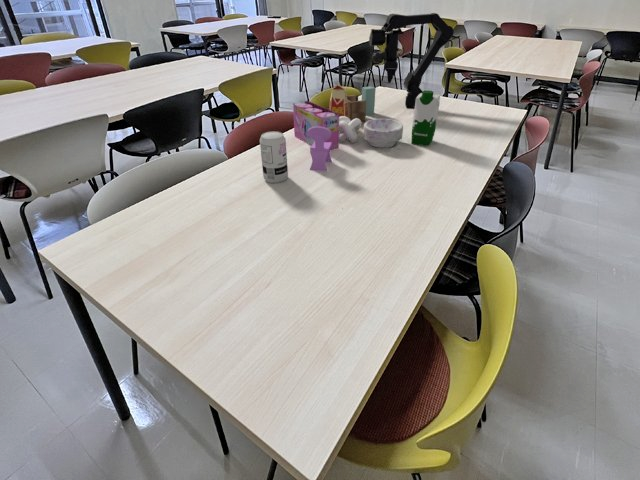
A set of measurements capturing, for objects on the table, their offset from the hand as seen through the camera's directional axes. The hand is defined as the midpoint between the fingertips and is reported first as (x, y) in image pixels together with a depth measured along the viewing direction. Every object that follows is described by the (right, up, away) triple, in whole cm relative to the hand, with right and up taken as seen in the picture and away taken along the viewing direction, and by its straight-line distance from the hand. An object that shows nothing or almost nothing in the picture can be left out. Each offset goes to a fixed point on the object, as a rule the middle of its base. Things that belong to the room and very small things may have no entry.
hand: (388, 80), depth 189 cm
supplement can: (-48, -57, -58) cm, 94 cm away
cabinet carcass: (-18, -21, -7) cm, 29 cm away
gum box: (-35, -38, -30) cm, 60 cm away
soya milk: (+8, -38, -32) cm, 51 cm away
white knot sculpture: (-23, -37, -29) cm, 52 cm away
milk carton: (-25, -28, -17) cm, 42 cm away
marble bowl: (-9, -39, -33) cm, 52 cm away
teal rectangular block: (-10, -16, 0) cm, 19 cm away
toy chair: (-33, -51, -49) cm, 78 cm away
